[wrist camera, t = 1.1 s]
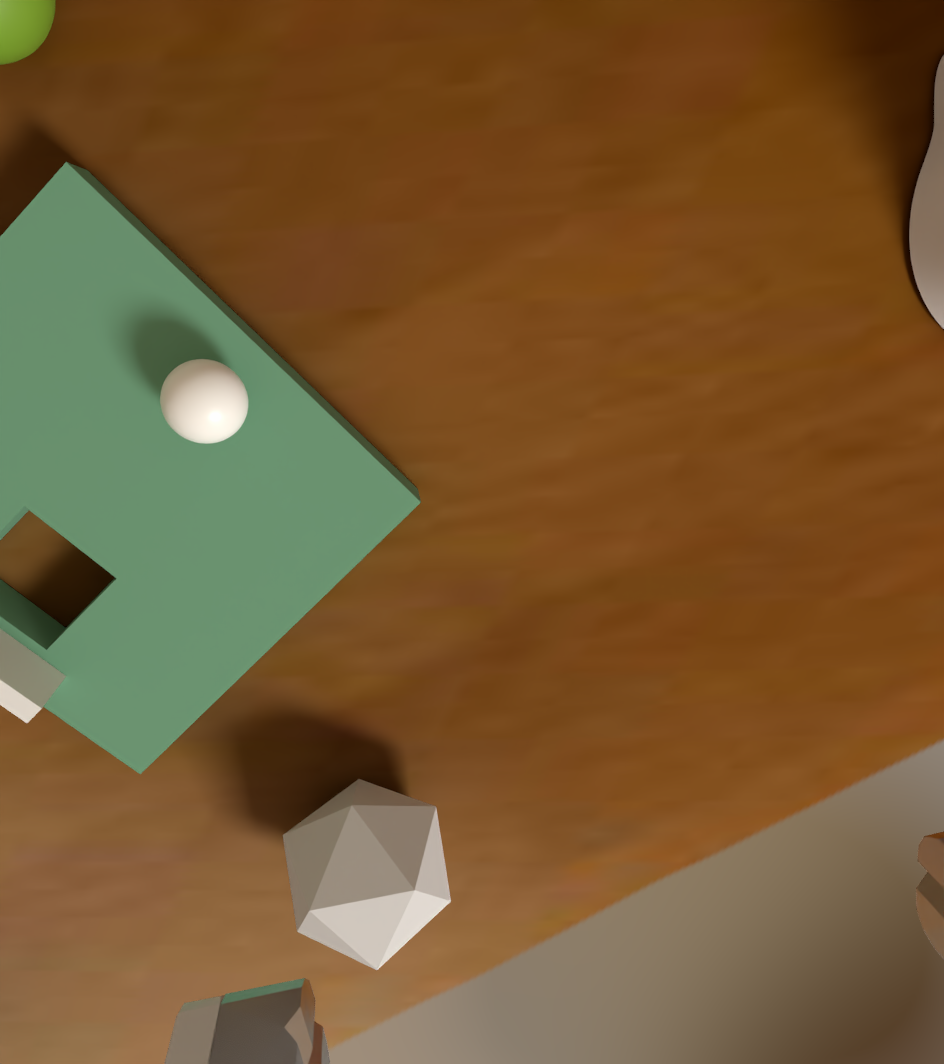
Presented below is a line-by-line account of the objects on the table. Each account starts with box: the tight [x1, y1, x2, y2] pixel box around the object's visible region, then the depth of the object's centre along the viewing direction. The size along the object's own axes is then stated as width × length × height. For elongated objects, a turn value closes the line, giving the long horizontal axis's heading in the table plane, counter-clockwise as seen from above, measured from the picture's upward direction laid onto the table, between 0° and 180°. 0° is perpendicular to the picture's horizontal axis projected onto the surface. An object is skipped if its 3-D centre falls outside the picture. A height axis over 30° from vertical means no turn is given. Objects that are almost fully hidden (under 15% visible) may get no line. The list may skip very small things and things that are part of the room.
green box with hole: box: [0, 162, 421, 774], centre depth 35 cm, size 20×20×6 cm
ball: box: [160, 359, 248, 444], centre depth 33 cm, size 4×4×4 cm
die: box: [283, 779, 451, 970], centre depth 41 cm, size 8×9×10 cm
